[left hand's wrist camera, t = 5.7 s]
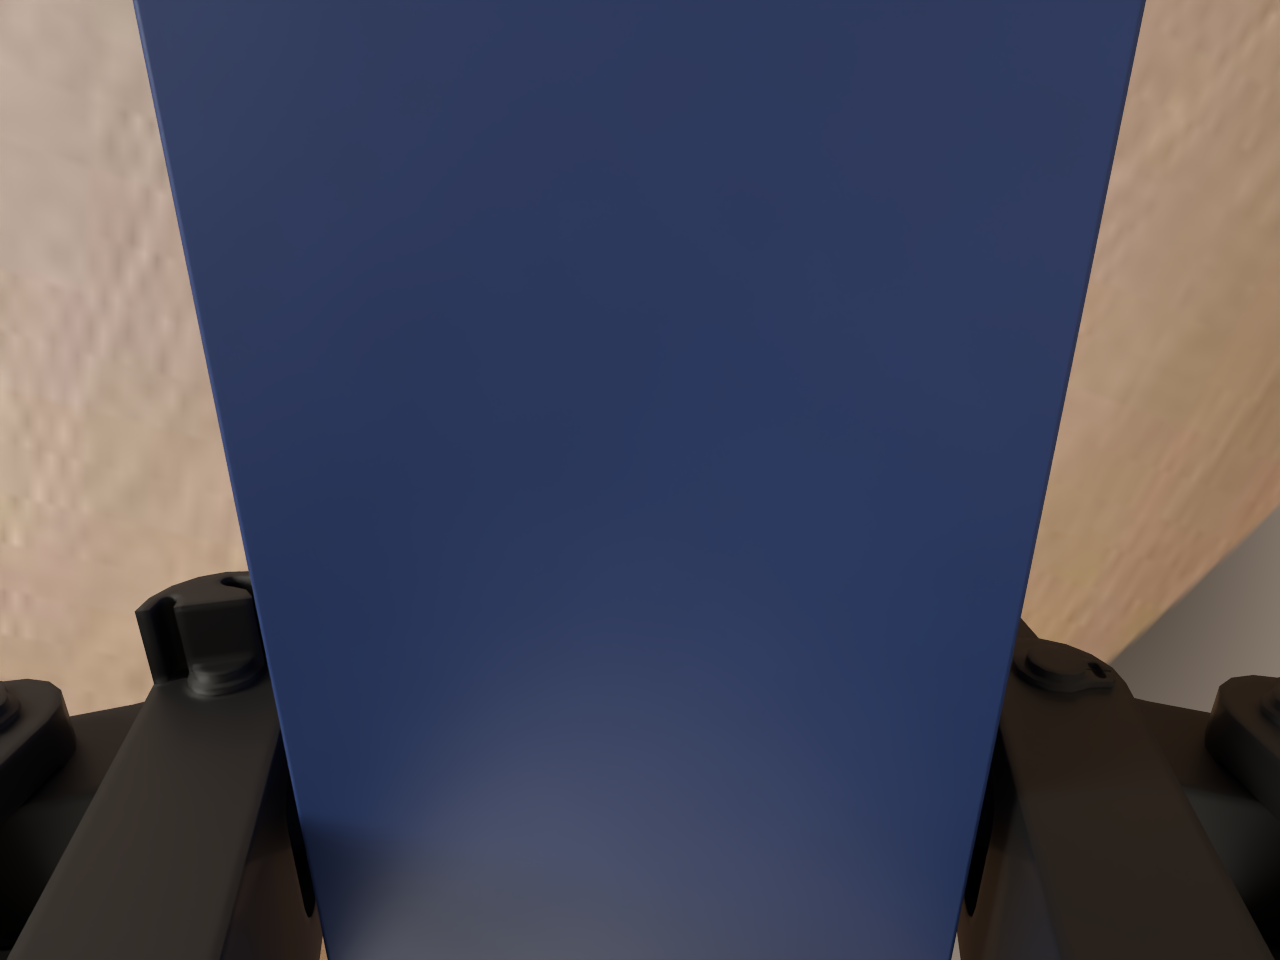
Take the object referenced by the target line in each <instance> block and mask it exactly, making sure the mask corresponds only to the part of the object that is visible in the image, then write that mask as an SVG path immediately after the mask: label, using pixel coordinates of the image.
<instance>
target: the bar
mask: <svg viewBox="0 0 1280 960" xmlns="http://www.w3.org/2000/svg"><path fill="white" fill-rule="evenodd" d="M1145 2H1146V0H133V4H134V9H135V14H136V19H137V23H138V28H139V33H140V38H141V43H142V48H143V53H144V58H145V63H146V68H147V73H148V78H149V83H150V87H151V92H152V97H153V102H154V107H155V112H156V117H157V122H158V127H159V132H160V137H161V142H162V147H163V151H164V156H165V161H166V166H167V171H168V176H169V181H170V186H171V191H172V196H173V201H174V206H175V211H176V215H177V220H178V225H179V230H180V235H181V240H182V245H183V250H184V255H185V260H186V265H187V270H188V274H189V279H190V284H191V289H192V294H193V299H194V304H195V309H196V314H197V319H198V324H199V329H200V334H201V338H202V343H203V348H204V353H205V358H206V363H207V368H208V373H209V378H210V383H211V388H212V393H213V398H214V402H215V407H216V412H217V417H218V422H219V427H220V432H221V437H222V442H223V447H224V452H225V457H226V461H227V466H228V471H229V476H230V481H231V486H232V491H233V496H234V501H235V506H236V511H237V516H238V521H239V525H240V530H241V535H242V540H243V545H244V550H245V555H246V560H247V565H248V570H249V575H250V580H251V585H252V589H253V594H254V599H255V604H256V609H257V614H258V619H259V624H260V629H261V634H262V639H263V644H264V648H265V653H266V658H267V663H268V668H269V673H270V678H271V683H272V688H273V693H274V698H275V703H276V708H277V712H278V717H279V722H280V727H281V732H282V737H283V742H284V747H285V752H286V757H287V762H288V767H289V772H290V776H291V781H292V786H293V791H294V796H295V801H296V806H297V811H298V816H299V821H300V826H301V831H302V835H303V840H304V845H305V850H306V855H307V860H308V865H309V870H310V875H311V880H312V885H313V890H314V895H315V899H316V904H317V909H318V914H319V919H320V924H321V929H322V934H323V939H324V944H325V949H326V954H327V959H328V960H951V958H952V953H953V948H954V943H955V938H956V933H957V928H958V923H959V918H960V914H961V909H962V904H963V899H964V894H965V889H966V884H967V879H968V874H969V869H970V864H971V859H972V854H973V849H974V845H975V840H976V835H977V830H978V825H979V820H980V815H981V810H982V805H983V800H984V795H985V790H986V785H987V780H988V776H989V771H990V766H991V761H992V756H993V751H994V746H995V741H996V736H997V731H998V726H999V721H1000V716H1001V712H1002V707H1003V702H1004V697H1005V692H1006V687H1007V682H1008V677H1009V672H1010V667H1011V662H1012V657H1013V652H1014V647H1015V643H1016V638H1017V633H1018V628H1019V623H1020V618H1021V613H1022V608H1023V603H1024V598H1025V593H1026V588H1027V583H1028V579H1029V574H1030V569H1031V564H1032V559H1033V554H1034V549H1035V544H1036V539H1037V534H1038V529H1039V524H1040V519H1041V514H1042V510H1043V505H1044V500H1045V495H1046V490H1047V485H1048V480H1049V475H1050V470H1051V465H1052V460H1053V455H1054V450H1055V445H1056V441H1057V436H1058V431H1059V426H1060V421H1061V416H1062V411H1063V406H1064V401H1065V396H1066V391H1067V386H1068V381H1069V377H1070V372H1071V367H1072V362H1073V357H1074V352H1075V347H1076V342H1077V337H1078V332H1079V327H1080V322H1081V317H1082V312H1083V308H1084V303H1085V298H1086V293H1087V288H1088V283H1089V278H1090V273H1091V268H1092V263H1093V258H1094V253H1095V248H1096V244H1097V239H1098V234H1099V229H1100V224H1101V219H1102V214H1103V209H1104V204H1105V199H1106V194H1107V189H1108V184H1109V179H1110V175H1111V170H1112V165H1113V160H1114V155H1115V150H1116V145H1117V140H1118V135H1119V130H1120V125H1121V120H1122V115H1123V111H1124V106H1125V101H1126V96H1127V91H1128V86H1129V81H1130V76H1131V71H1132V66H1133V61H1134V56H1135V51H1136V46H1137V42H1138V37H1139V32H1140V27H1141V22H1142V17H1143V12H1144V7H1145Z"/></svg>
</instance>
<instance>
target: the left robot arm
mask: <svg viewBox="0 0 1280 960" xmlns="http://www.w3.org/2000/svg"><path fill="white" fill-rule="evenodd" d="M135 614H136V618H137V622H138V625H139V629H140V633H141V637H142V640H143V644H144V648H145V651H146V655H147V659H148V663H149V666H150V670H151V674H152V678H153V681H154V685H153V687H152V689H151V691H150V693H149V695H148V697H147V698H146V700H145V702H142V703H138V704H134V705H129V706H123V707H118V708H113V709H107V710H102V711H97V712H91V713H86V714H81V715H75V716H70V717H69V713H68V710H67V707H66V704H65V701H64V698H63V695H62V692H61V690H60V689H59V688H57V687H56V686H55V685H53V684H52V683H50V682H48V681H40V680H32V679H21V680H13V681H4V682H3V681H0V960H320V952H321V944H322V937H323V934H322V929H321V924H320V919H319V914H318V909H317V904H316V899H315V895H314V890H313V885H312V880H311V875H310V870H309V865H308V860H307V855H306V850H305V845H304V840H303V835H302V831H301V826H300V821H299V816H298V811H297V806H296V801H295V796H294V791H293V786H292V781H291V776H290V772H289V767H288V762H287V757H286V752H285V747H284V742H283V737H282V732H281V727H280V722H279V717H278V712H277V708H276V703H275V698H274V693H273V688H272V683H271V678H270V673H269V668H268V663H267V658H266V653H265V648H264V644H263V639H262V634H261V629H260V624H259V619H258V614H257V609H256V604H255V599H254V594H253V589H252V585H251V580H250V575H249V571H245V572H224V573H218V574H213V575H207V576H202V577H197V578H194V579H191V580H188V581H185V582H182V583H179V584H176V585H173V586H171V587H169V588H167V589H165V590H163V591H162V592H160V593H158V594H156V595H154V596H152V597H150V598H149V599H148V600H147V601H146V602H144V603H143V604H142V605H141V606H140V607H139V608H138V609H137V610H136V611H135ZM957 935H958V942H959V950H960V958H961V960H1280V677H1279V678H1275V677H1266V676H1257V675H1250V676H1242V677H1234V678H1230V679H1229V680H1228V681H1226V682H1225V683H1223V684H1222V685H1221V686H1219V689H1218V692H1217V696H1216V699H1215V702H1214V705H1213V708H1212V711H1211V713H1208V712H1202V711H1197V710H1192V709H1186V708H1181V707H1176V706H1170V705H1165V704H1160V703H1154V702H1149V701H1144V700H1140V699H1136V698H1134V697H1133V695H1132V693H1131V692H1130V690H1129V688H1128V686H1127V684H1126V683H1125V681H1124V680H1123V679H1122V678H1121V677H1120V676H1119V675H1118V673H1117V672H1116V671H1115V670H1114V669H1113V668H1112V667H1110V666H1109V665H1107V664H1106V663H1104V662H1103V661H1101V660H1100V659H1098V658H1096V657H1095V656H1093V655H1092V654H1089V653H1087V652H1084V651H1082V650H1079V649H1077V648H1074V647H1072V646H1069V645H1067V644H1062V643H1058V642H1053V641H1049V640H1044V639H1039V638H1038V637H1037V636H1036V635H1035V634H1034V632H1033V631H1032V630H1031V629H1030V628H1029V627H1028V626H1027V624H1026V623H1025V622H1024V621H1023V620H1022V619H1021V618H1020V623H1019V628H1018V633H1017V638H1016V643H1015V647H1014V652H1013V657H1012V662H1011V667H1010V672H1009V677H1008V682H1007V687H1006V692H1005V697H1004V702H1003V707H1002V712H1001V716H1000V721H999V726H998V731H997V736H996V741H995V746H994V751H993V756H992V761H991V766H990V771H989V776H988V780H987V785H986V790H985V795H984V800H983V805H982V810H981V815H980V820H979V825H978V830H977V835H976V840H975V845H974V849H973V854H972V859H971V864H970V869H969V874H968V879H967V884H966V889H965V894H964V899H963V904H962V909H961V914H960V918H959V923H958V928H957Z"/></svg>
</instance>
